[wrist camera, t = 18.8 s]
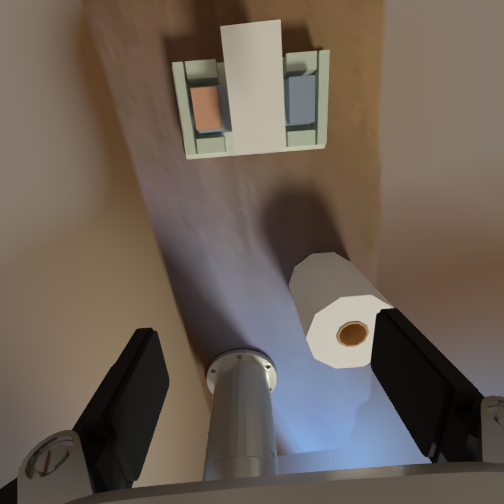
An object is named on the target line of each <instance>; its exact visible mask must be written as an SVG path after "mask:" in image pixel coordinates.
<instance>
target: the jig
mask: <svg viewBox="0 0 504 504" xmlns="http://www.w3.org/2000/svg"><path fill="white" fill-rule="evenodd" d="M329 54H330V50H320V51H319V52H318V53H317V51H308V52H295V53H286V55H285V57H282V62H283V81H286V80H288V78H289V77H297V76H309V75H315V122H313V123H310V124H308V125H305V126H297V127H286V128H285V130H286V150H283V151H274V152H284V151H297V150H309V149H322V148H325V144H326V141H327V112H328V83H329ZM172 65H173V66H172V71H173V77H174V84H175V90H176V96H177V102H178V108H179V115H180V121H181V127H182V133H183V140H184V146H185V152H186V158H187V159H197V158H209V157H222V156H234V155H235V150H234V141H233V133H232V132H228V133H217V134H205V135H203V134H201V133H199V131H198V130H196V124H195V117H194V110H193V103H192V97H191V90H190V88H200V87H212V86H216V87H218V86H227V81H226V73H225V64H224V62H218V63H216V60H215V59H208V60H196V61H185V65H184V63H183V62H172ZM264 153H272V152H264ZM255 154H259V153H255ZM246 155H247V154H246Z"/></svg>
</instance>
